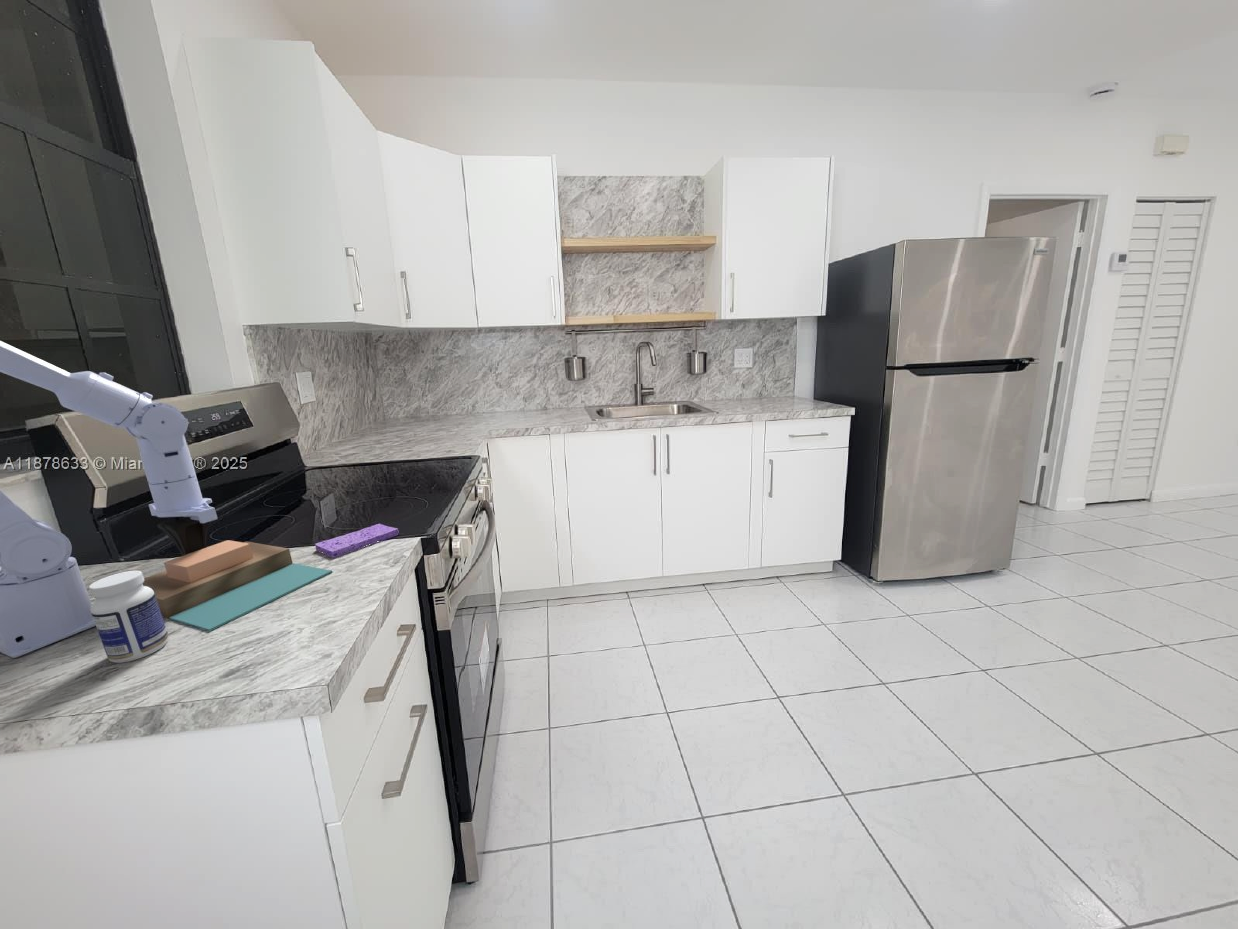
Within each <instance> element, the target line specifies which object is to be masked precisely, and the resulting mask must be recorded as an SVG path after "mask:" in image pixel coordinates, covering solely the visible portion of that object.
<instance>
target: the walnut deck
mask: <svg viewBox="0 0 1238 929" xmlns="http://www.w3.org/2000/svg"><path fill="white" fill-rule="evenodd" d="M242 543H248V544H250V547H251V550H252V554H253V558H252V559H249V560H247V561H244V562H242V563H239V564H236V565H234V566H231V567H229V568H226V569H224V570H221V571H219V572H216V573H214V574H211V575H209V576H206V577H204V578H201V579H199V580H196V581H194V582H191V583H190V582H186V581H182V580H177V579H173V578H169V577H168V574H167V571H166V570H164V571H161V572H157V573H156V574H153V575H150V576H147V577H144V582H143V586H147V587H149V588H151V589H152V590H153V591H154V593H155V597H156V600H157V603H158V606H159V609H160V612H161V615H162V618H164V619H167V620H170V619H169V617H171V616H173V615H176V614H178V613H180V612H183V611H185V610H187V609H190V608H192V607H194V606H196V605H199V604H201V603H203V602H206V601H208V600H210V599H213V598H215V597H217V596H220V595H222V594H224V593H226V592H229V591H231V590H233V589H236V588H238V587H240V586H243V585H245V584H247V583H250V582H252V581H254V580H257V579H259V578H261V577H263V576H266V575H268V574H270V573H273V572H275V571H277V570H280V569H282V568H284V567H287V566H289V565H291V564H293V559H292V554H291V551H290V548H289V547H288V548H287V547H281V546H276V545H270V544H269V545H268V544H263V543H257V542H254V541H253V542H252V541H243V542H242Z"/></svg>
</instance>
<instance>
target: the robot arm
mask: <svg viewBox="0 0 1238 929" xmlns="http://www.w3.org/2000/svg"><path fill="white" fill-rule="evenodd" d="M0 373H2V374H4V375H5V374H6V375H7V376H10V377H13V378H14V379H18V380H21V381H23V382H26V383H29V384H32V385H34V386H37V387H40V388H42V389H45V390H48V391H50V392H52V393H54V394H55V396H56V397H57V399H58V401H59V404H60V405H61V406H62V407H63V408H66V409H68V410H71V411H74V412H76V413H79V414H81V415H84V416H86V417H89V418H92V419H94V420H97V421H99V422H102V423H104V424H107V425H110V426H112V427H115V428H116V429H123V428H124V429H125V431H126V432H127V433H128V434H129V435H131V436H132V437H135V441H136V444H137V447H138V450H139V457H140V461H141V463H142V467H143V470H144V475H145V477H146V479H147V480H146V482H147V484H148V486H149V487H148V488H149V491H150V494H151V497H152V501H153V503H150V504H148V508H149V511H150V514H151V516H152V517H153V516H154V517H157V518H167V520H166V521H165V520H164V521H162V522H160V523H157V524H156V527H158V529H159V530H161V531H162V532H163V533H164V534H166V536H168V537H169V539H170V540H171V541H172V543H174V545H175V546H176V548H177V549H178V551H179V552H180V554H181V555H182V556H184V555H187V554H189V553H192V552H195V551H198V550H201V549H204V548H207V535H208V531H209V527H210V524H211V522H212V521H215V520H218V515H217V512H216V509H215V507H213V506H210V505H209V504H211V503H213V500H212V498H208V497H203V494H202V492H201V488H200V484H199V480H198V478H197V473H196V470H195V469H196V468H195V467H194V463H193V462H194V461H193V459H192V456H191V452H190V449H189V447H188V444H187V439H186V437H185V434H186V432H187V430H188V427H189V420H188V419H189V418H185V416H184V414H183V413H181V410H180V409H178V408H177V407H175V406H173V405H171V404H168V403H163V402H156V401H152V399H153V394H150V393H148V392H146V391H144V392H142V393H140V392H139V391H135V390H133V389H131V388H129V387H127V386H125V385H122V384H120V383H117V382H115V381H113V380H114V377H115V376H113V375H111V374H109V373H107V372H103V371H102V372H99V373H96V372H94V371H91V370H90V371H89V370H85V371H78V372H68V371H67V370H65V369H62V368H60V367H58V366H56V365H54V364H52V363H50V362H47V361H46V360H44V359H41V358H38V357H37V356H35V355H32V354H30V353H28V352H26V351H23V350H21V349H19V348H16V347H15V346H12V345H10V344H8V343H6V342H4V341H2V340H0ZM72 547H73V546H72V544H71V541H70V539H69V537H67V536H66V534H64V533H62V532H60V531H58V530H55V529H54V528H53V527H52V526H50V525H49V524H48V523H46V522H44V521H41V520H39V519H34V518H32V517H31V516H30V515H29V514H28V513H27V512H26V511H25V510H23V509H22V508H21V507H19V505H18V504H16V503H15V502H14V501H13V500H12V499H10V498H9V497H8V495H6V494H5V493H4V492H3V491H2V490H1V489H0V653H1V654H4V655H6V656H8V657H10V658H13V659H15V658H18V657H22V656H23V655H26V654H29V653H31V652H33V651H36V650H38V649H40V648H43V647H46V646H48V645H51V644H53V643H56V642H58V641H61V640H63V639H66V638H68V637H70V636H74V635H76V634H78V633H80V632H81V633H82V632H84V631H86V630H88V629H91V628H93V627H96V625H95V622H94V619H93V617H92V614H91V610H90V609H91V606H92V604H93V603H92V600H91V598H90V596H89V593H88V590H87V588H86V584H85V581H84V579H83V576H82V572H81V569H80V568H79V565H78V562H77V559H76V557H73V556H71V555H72V552H73V551H72V550H73V548H72Z"/></svg>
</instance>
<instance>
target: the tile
mask: <svg viewBox="0 0 1238 929" xmlns="http://www.w3.org/2000/svg"><path fill="white" fill-rule="evenodd" d="M252 558H253V554H252V550H251V547H250V544H248V543H243V542H242V541H235V540H230V539H229V540H228V539H227V540H224V541H221V542H218V543H216V544H212V545H210V546H206V548H204V549H201V550H198V551H195V552H192V553H189V554H187V555H184V556H178V557H176V558H172V559H170V560H166V561H164V562H163V564H164V567H165V571H167V574H168V577H169V578H173V579H177V580H182V581H186V582H190V583H191V582H194V581H196V580H199V579H201V578H204V577H206V576H209V575H211V574H214V573H216V572H219V571H221V570H224V569H226V568H229V567H231V566H234V565H236V564H239V563H242V562H244V561H247V560H249V559H252Z"/></svg>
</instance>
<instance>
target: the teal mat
mask: <svg viewBox="0 0 1238 929" xmlns="http://www.w3.org/2000/svg"><path fill="white" fill-rule="evenodd" d="M292 563H293V562H292ZM331 573H333V570H332V569H331V570H329V569H326V568H325V569H324V568H320V567H315V566H309V565H305V564H299V563H293V564H291V565H289V566H287V567H284V568H282V569H280V570H277V571H275V572H273V573H270V574H268V575H266V576H263V577H261V578H259V579H257V580H254V581H252V582H250V583H247V584H245V585H243V586H240V587H238V588H236V589H233V590H231V591H229V592H226V593H224V594H222V595H220V596H217V597H215V598H213V599H210V600H208V601H206V602H203V603H201V604H199V605H196V606H194V607H192V608H190V609H187V610H185V611H183V612H180V613H178V614H176V615H173V616H171V617H169V619H168V620H171V621H174V622H178V623H181V624H184V625H186V626H187V625H188V626H190V627H194V628H198V629H199V630H200V629H201V630H204V631H207V632H212V631H213V630H216V629H218V628H220V627H222V626H223V625H226V624H228V623H231V622H232V621H235V620H236V619H239V618H240V617H243V616H244V615H247V614H249V613H251V612H253V611H255V610H258V609H260V608H261V607H263V606H266V605H268V604H269V603H272V602H274V601H276V600H278V599H281V597H284V596H286V595H288V594H290V593H292V592H294V591H297V590H298V589H302V588H303V587H304V586H305V587H306V586H307V585H309V584H311V583H313V582H315V581H317V580H320V579H321V578H323V577H325V576H327V575H330V574H331Z"/></svg>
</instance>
